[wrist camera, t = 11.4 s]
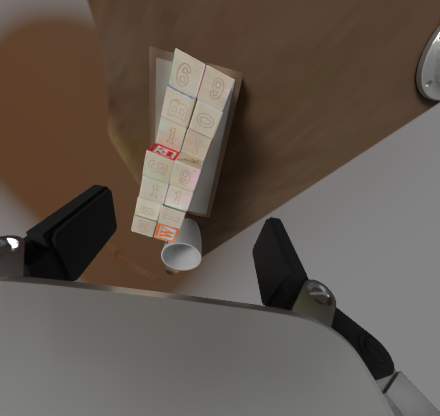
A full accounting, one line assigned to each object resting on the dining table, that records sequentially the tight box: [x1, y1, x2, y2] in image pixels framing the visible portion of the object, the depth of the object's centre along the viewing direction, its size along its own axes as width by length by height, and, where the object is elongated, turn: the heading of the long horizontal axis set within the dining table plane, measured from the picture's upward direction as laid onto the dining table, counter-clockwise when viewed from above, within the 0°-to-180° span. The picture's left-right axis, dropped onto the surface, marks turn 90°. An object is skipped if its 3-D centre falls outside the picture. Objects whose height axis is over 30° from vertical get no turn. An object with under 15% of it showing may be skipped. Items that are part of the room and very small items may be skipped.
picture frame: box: [149, 46, 244, 218], centre depth 31 cm, size 13×26×3 cm, turn 168°
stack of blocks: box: [131, 48, 234, 243], centre depth 24 cm, size 21×6×12 cm, turn 157°
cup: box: [161, 218, 202, 270], centre depth 39 cm, size 8×8×10 cm
